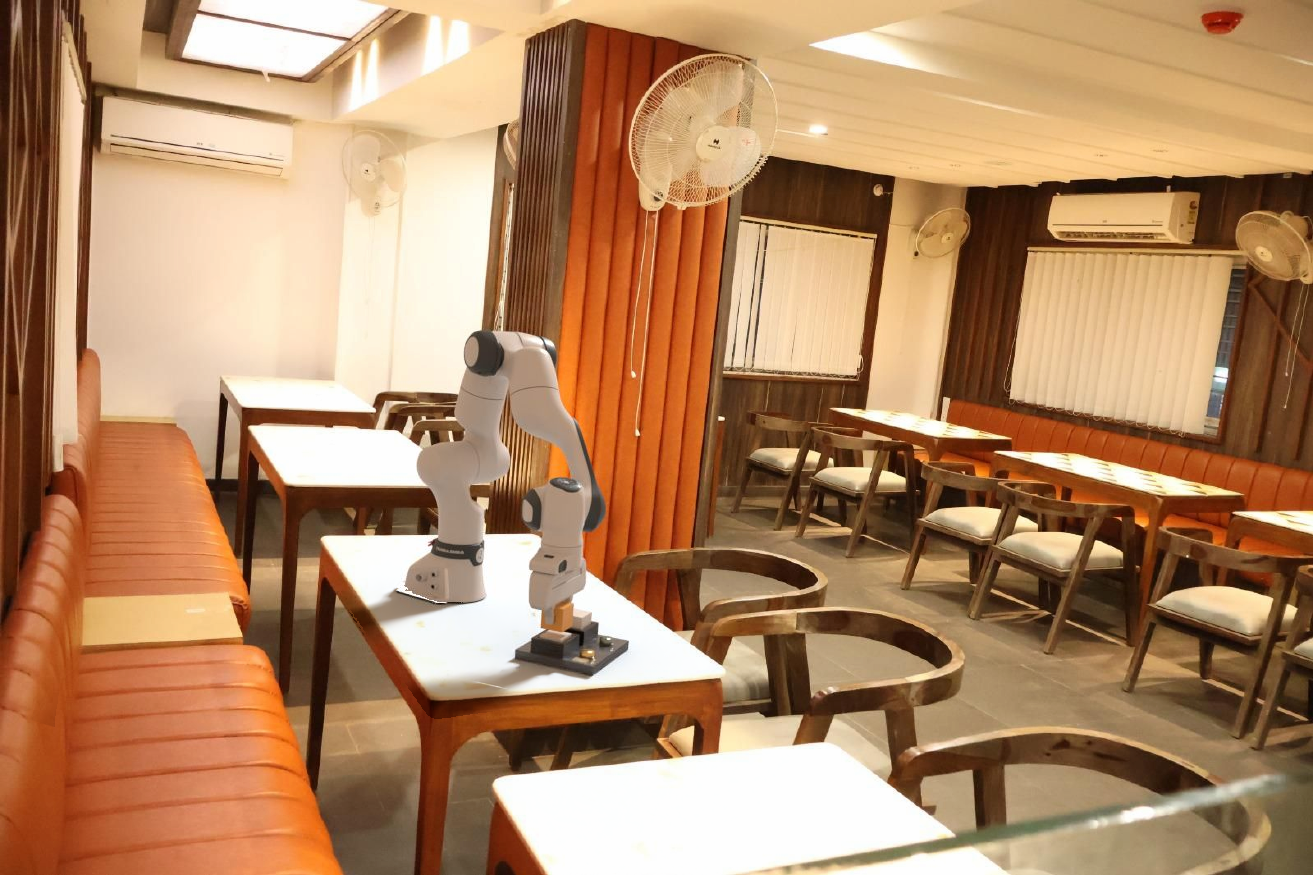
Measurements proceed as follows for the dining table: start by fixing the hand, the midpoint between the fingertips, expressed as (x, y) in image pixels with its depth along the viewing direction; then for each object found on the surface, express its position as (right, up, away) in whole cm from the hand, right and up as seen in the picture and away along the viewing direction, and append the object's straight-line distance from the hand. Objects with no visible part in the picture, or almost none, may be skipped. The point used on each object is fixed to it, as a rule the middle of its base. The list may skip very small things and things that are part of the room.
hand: (556, 619), depth 225 cm
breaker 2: (+3, -3, +10) cm, 11 cm away
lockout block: (0, -2, 0) cm, 2 cm away
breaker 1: (0, -6, +1) cm, 6 cm away
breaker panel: (+3, -8, +5) cm, 10 cm away
